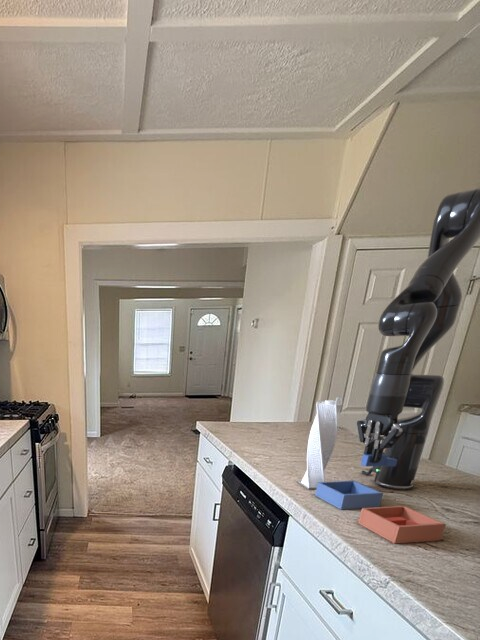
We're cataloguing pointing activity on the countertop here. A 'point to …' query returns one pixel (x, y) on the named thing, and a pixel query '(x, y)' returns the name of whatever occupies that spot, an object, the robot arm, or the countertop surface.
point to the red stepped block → (401, 521)
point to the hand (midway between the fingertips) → (370, 461)
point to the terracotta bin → (406, 533)
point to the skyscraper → (321, 442)
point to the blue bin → (348, 494)
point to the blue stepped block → (383, 462)
